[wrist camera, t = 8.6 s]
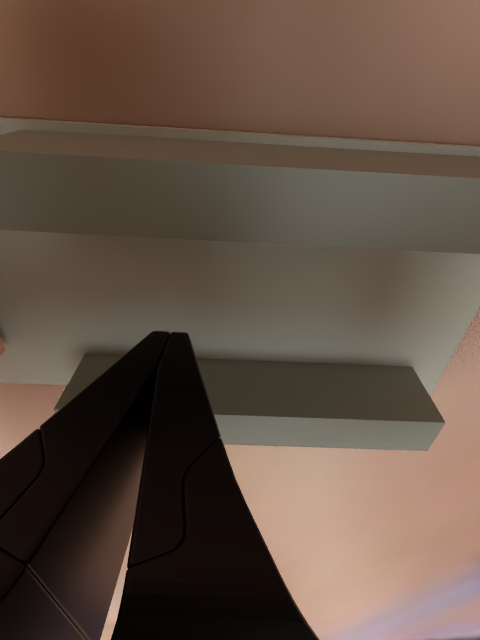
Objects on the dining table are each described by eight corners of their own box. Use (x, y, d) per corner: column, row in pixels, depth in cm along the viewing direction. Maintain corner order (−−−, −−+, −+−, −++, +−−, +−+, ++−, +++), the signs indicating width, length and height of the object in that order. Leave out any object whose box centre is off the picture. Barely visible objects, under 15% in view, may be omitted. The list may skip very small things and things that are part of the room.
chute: (556, 150, 9) (669, 177, 6) (425, 393, 14) (461, 455, 12) (-266, 101, 8) (-466, 111, 6) (-78, 374, 13) (-144, 435, 11)
